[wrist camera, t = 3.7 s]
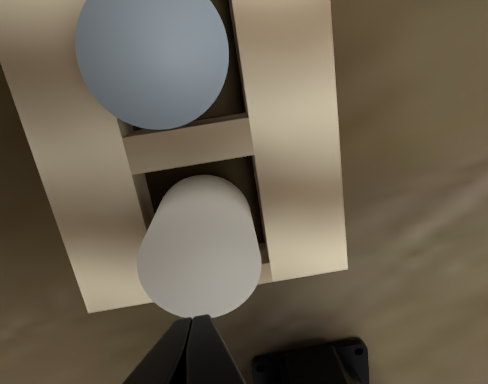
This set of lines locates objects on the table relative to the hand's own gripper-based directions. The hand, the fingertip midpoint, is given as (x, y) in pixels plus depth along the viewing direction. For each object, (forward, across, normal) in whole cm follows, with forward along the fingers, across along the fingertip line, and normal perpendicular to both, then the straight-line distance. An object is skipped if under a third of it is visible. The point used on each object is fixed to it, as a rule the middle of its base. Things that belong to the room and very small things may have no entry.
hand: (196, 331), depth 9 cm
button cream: (+7, 0, 0) cm, 7 cm away
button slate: (+7, 0, -7) cm, 10 cm away
